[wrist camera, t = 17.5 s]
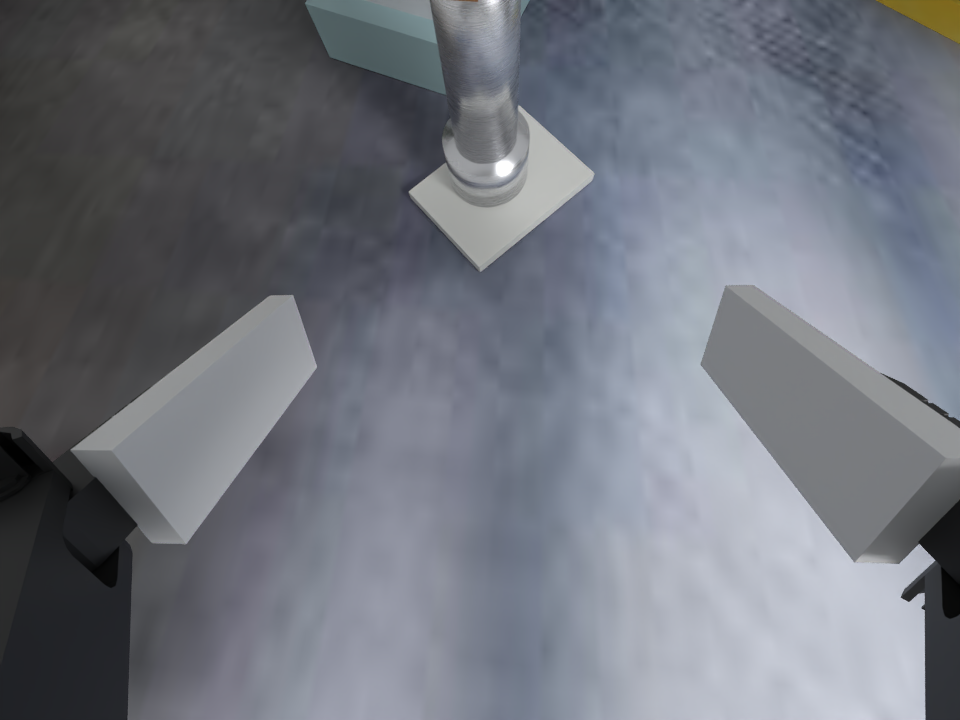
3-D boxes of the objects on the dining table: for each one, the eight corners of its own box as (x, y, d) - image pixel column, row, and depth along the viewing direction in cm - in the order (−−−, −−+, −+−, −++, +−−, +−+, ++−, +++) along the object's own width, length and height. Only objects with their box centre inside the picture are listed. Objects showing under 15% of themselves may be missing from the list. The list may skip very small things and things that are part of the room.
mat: (518, 114, 22) (519, 105, 21) (592, 180, 21) (594, 173, 20) (411, 198, 21) (408, 191, 21) (480, 272, 20) (479, 267, 20)
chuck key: (462, 115, 22) (402, -311, 9) (536, 121, 21) (574, -317, 9) (437, 226, 20) (330, -104, 8) (516, 235, 20) (529, -97, 8)
